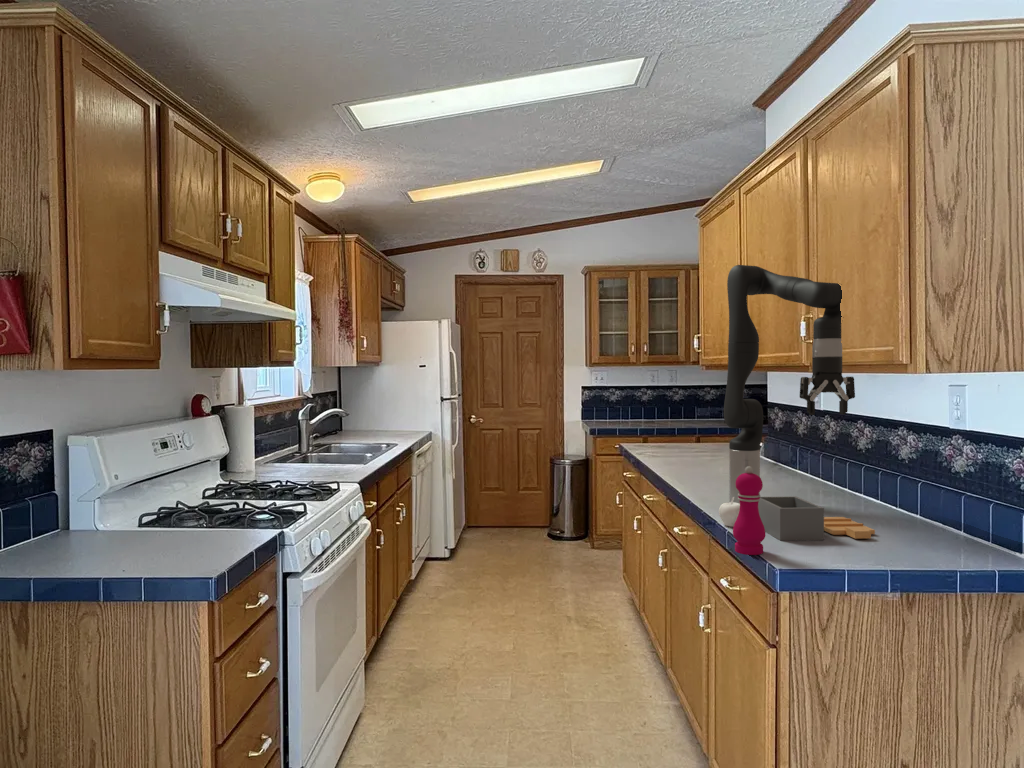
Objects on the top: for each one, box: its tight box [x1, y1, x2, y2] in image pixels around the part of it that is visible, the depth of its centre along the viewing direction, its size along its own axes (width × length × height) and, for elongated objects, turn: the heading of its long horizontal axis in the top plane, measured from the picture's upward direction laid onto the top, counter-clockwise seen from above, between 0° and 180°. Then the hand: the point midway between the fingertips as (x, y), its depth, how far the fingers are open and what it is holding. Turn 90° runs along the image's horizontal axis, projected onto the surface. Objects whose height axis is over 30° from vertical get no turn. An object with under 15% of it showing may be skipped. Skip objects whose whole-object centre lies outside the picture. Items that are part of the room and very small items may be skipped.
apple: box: [718, 497, 740, 528], centre depth 187 cm, size 7×7×8 cm
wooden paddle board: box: [824, 516, 876, 540], centre depth 181 cm, size 20×11×3 cm, turn 1°
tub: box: [758, 495, 825, 541], centre depth 178 cm, size 16×11×8 cm
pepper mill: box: [732, 466, 766, 556], centre depth 160 cm, size 7×7×20 cm
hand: (827, 414), depth 188 cm, fingers open, 8 cm apart
